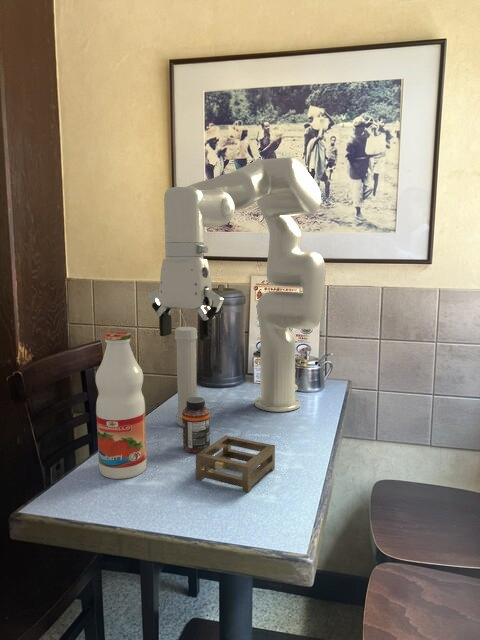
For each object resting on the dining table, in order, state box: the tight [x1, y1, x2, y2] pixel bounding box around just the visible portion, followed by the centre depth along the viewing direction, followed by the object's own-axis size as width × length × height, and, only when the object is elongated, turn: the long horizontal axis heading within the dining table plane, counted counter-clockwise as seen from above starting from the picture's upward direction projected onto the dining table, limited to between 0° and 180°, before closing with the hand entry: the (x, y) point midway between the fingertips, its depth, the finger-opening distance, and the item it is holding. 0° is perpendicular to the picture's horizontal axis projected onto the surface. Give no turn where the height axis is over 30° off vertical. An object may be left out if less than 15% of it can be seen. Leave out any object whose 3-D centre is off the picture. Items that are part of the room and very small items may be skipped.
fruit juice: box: [95, 330, 148, 480], centre depth 104 cm, size 9×9×28 cm
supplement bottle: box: [182, 396, 211, 454], centre depth 116 cm, size 6×6×11 cm
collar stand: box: [195, 435, 276, 494], centre depth 103 cm, size 12×11×5 cm
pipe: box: [174, 309, 198, 427], centre depth 130 cm, size 6×6×30 cm
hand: (185, 337), depth 106 cm, fingers open, 9 cm apart
